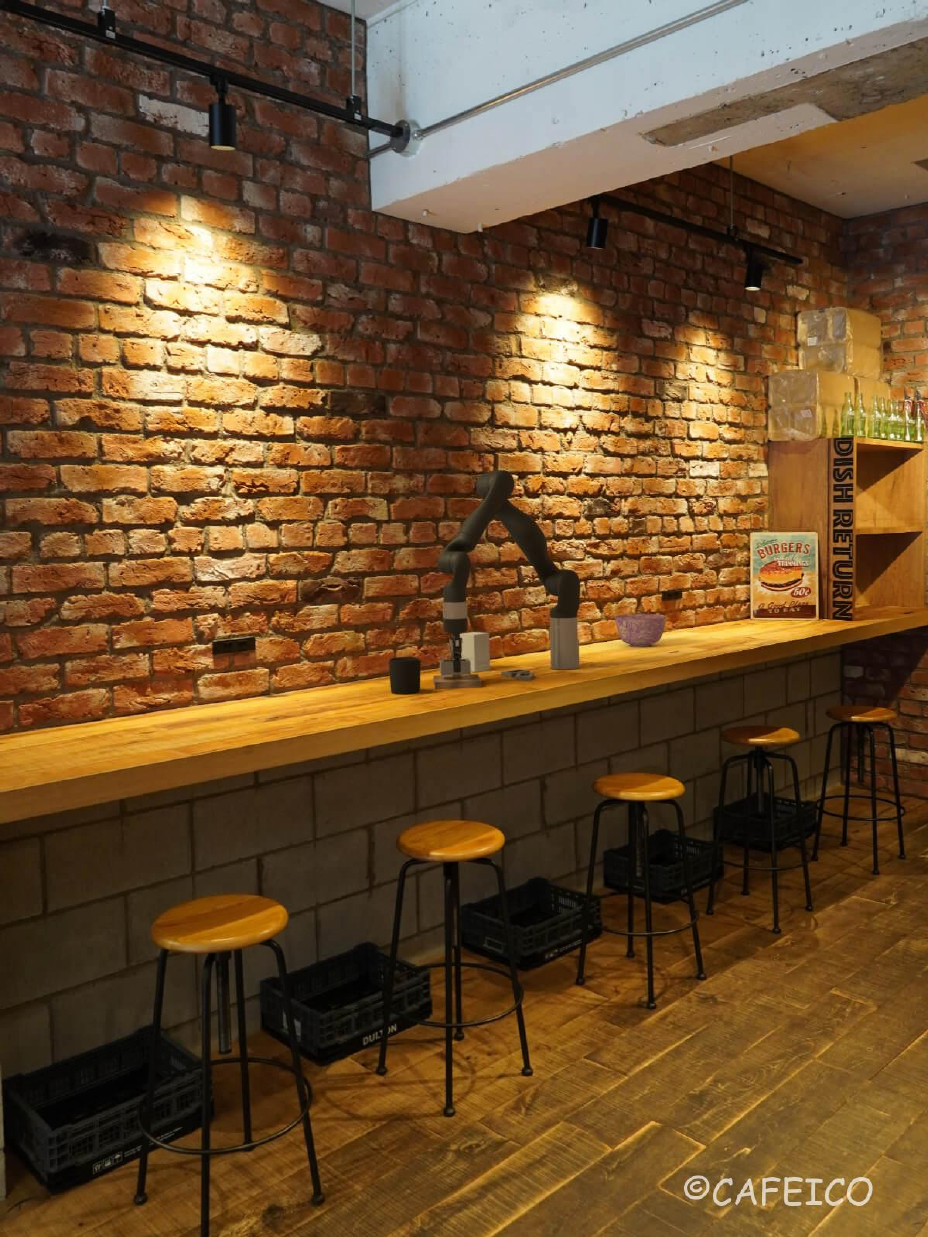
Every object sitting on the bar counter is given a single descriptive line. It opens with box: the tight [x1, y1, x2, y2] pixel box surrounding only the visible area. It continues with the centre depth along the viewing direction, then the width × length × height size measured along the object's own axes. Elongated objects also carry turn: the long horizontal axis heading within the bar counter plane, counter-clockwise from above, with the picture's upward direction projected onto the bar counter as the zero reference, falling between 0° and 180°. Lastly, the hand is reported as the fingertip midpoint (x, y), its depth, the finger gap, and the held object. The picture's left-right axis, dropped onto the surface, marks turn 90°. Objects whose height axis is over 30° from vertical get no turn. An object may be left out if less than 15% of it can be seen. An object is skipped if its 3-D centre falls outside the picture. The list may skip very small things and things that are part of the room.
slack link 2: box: [514, 672, 535, 681], centre depth 331 cm, size 8×5×1 cm, turn 169°
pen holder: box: [388, 656, 421, 695], centre depth 310 cm, size 9×9×10 cm
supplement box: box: [460, 631, 491, 673], centre depth 352 cm, size 7×7×13 cm
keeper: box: [432, 673, 483, 690], centre depth 322 cm, size 14×14×6 cm
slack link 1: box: [500, 668, 531, 678], centre depth 339 cm, size 8×5×1 cm, turn 129°
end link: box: [439, 658, 472, 675], centre depth 321 cm, size 9×6×4 cm, turn 95°
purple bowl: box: [614, 613, 667, 648], centre depth 408 cm, size 20×20×12 cm
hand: (456, 670), depth 322 cm, fingers closed on end link, 6 cm apart
